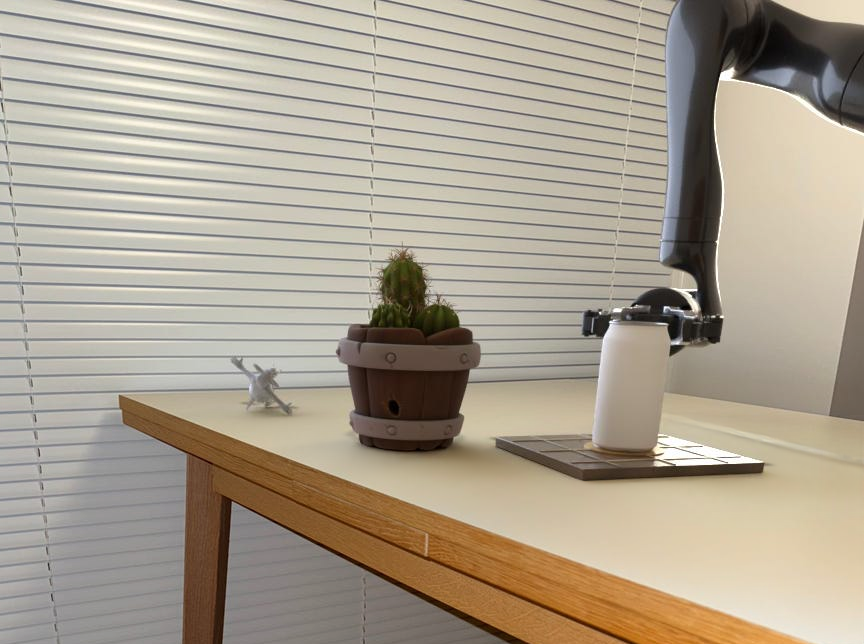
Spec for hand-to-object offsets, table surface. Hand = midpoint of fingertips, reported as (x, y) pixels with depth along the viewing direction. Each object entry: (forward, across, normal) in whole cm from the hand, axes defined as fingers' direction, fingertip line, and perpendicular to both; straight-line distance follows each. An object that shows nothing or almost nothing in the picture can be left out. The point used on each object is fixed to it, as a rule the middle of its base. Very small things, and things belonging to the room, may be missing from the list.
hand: (643, 328), depth 96 cm
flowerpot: (+7, -22, +13) cm, 26 cm away
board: (+3, 0, +12) cm, 13 cm away
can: (+3, 0, +12) cm, 12 cm away
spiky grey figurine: (-6, -47, +13) cm, 49 cm away
